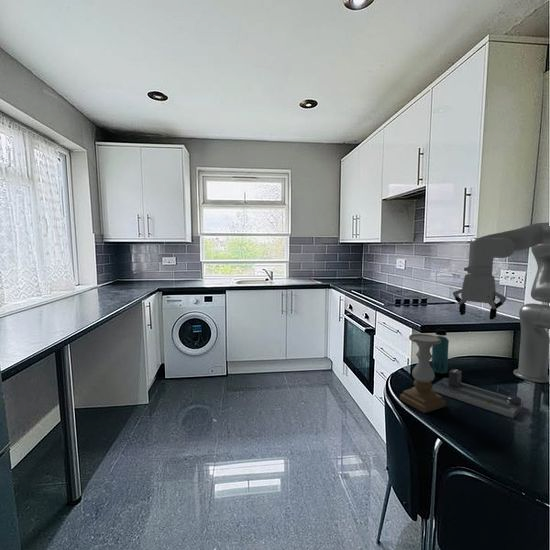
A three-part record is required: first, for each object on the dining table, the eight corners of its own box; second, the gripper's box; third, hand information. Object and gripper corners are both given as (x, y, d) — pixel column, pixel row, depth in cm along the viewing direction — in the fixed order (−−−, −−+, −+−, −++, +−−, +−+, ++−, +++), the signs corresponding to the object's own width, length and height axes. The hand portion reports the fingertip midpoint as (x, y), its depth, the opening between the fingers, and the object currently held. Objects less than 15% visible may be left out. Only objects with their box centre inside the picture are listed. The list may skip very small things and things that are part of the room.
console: (444, 382, 129) (444, 373, 128) (523, 406, 109) (523, 397, 108) (431, 390, 121) (431, 382, 121) (513, 418, 101) (514, 408, 101)
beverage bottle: (443, 371, 140) (445, 327, 138) (450, 377, 133) (452, 331, 131) (428, 370, 140) (430, 327, 139) (434, 376, 134) (436, 331, 132)
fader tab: (452, 383, 122) (453, 368, 122) (460, 386, 120) (461, 370, 119) (448, 386, 120) (449, 370, 119) (456, 389, 117) (457, 373, 117)
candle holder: (424, 413, 104) (427, 344, 102) (399, 399, 114) (401, 335, 112) (446, 406, 109) (449, 339, 107) (420, 393, 119) (422, 332, 117)
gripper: (450, 270, 120) (448, 314, 121) (505, 273, 106) (501, 322, 108) (458, 269, 124) (455, 311, 126) (511, 272, 111) (507, 319, 113)
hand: (476, 316), depth 117 cm, fingers open, 9 cm apart
